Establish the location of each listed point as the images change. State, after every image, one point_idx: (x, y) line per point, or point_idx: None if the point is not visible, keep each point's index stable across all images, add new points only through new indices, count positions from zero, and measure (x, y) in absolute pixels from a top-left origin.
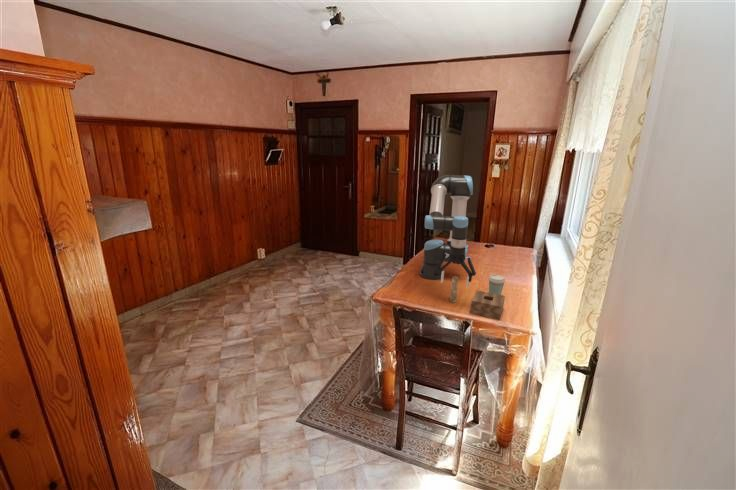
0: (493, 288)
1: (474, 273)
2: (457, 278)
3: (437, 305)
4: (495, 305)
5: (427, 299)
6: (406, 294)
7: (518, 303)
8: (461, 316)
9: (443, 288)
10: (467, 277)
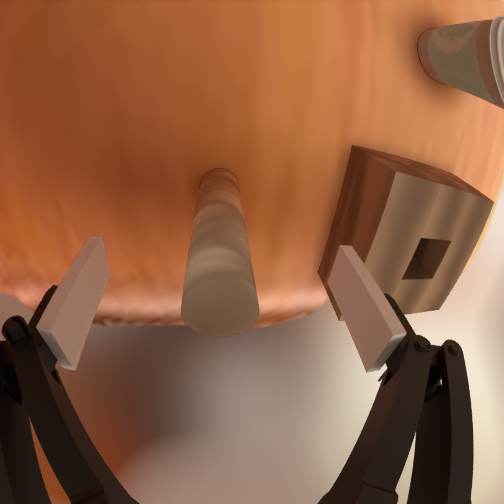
0: (476, 93)
1: (434, 390)
2: (251, 323)
3: (157, 268)
4: (425, 310)
5: (89, 230)
6: (7, 228)
7: (497, 115)
8: (282, 309)
9: (117, 24)
10: (363, 360)
